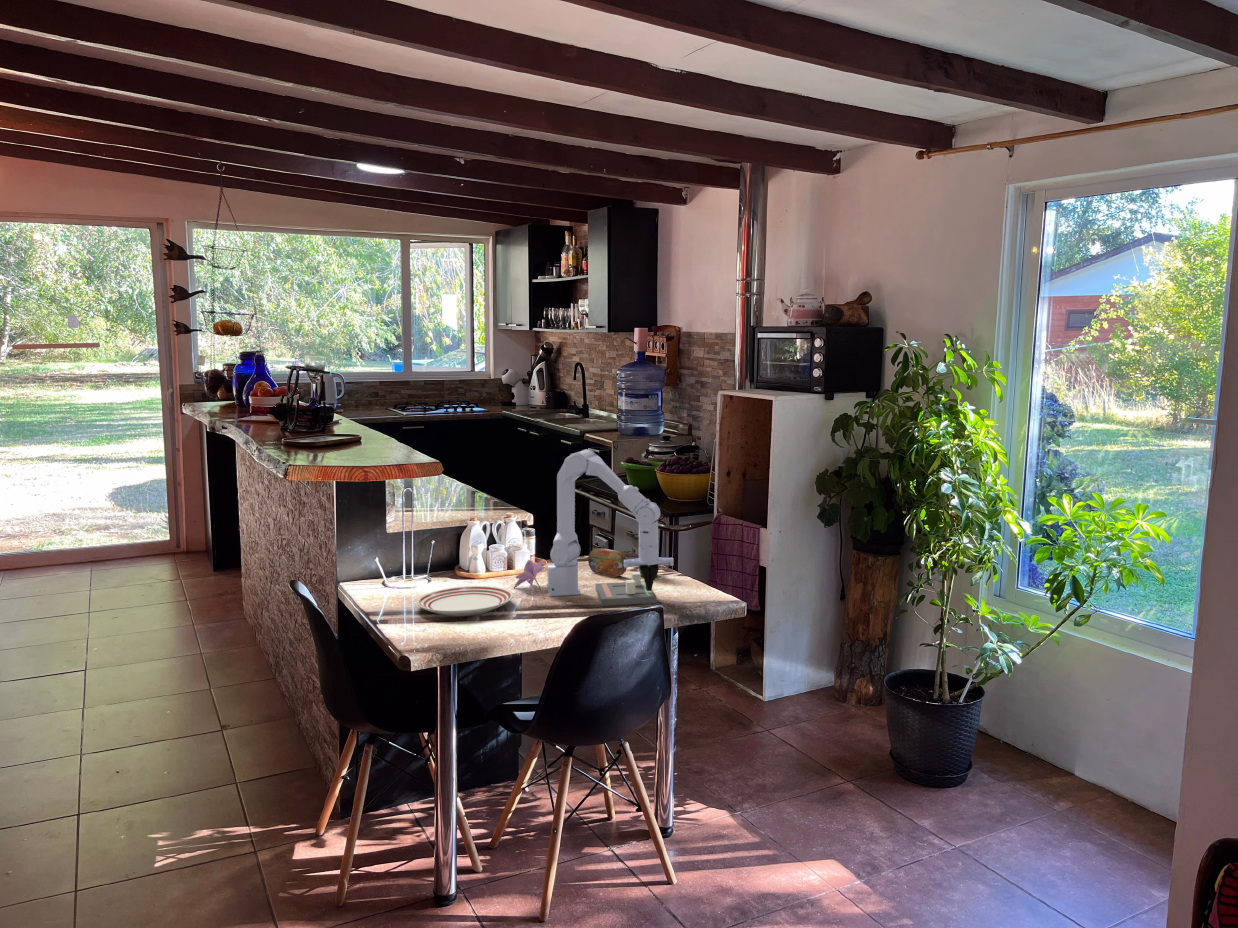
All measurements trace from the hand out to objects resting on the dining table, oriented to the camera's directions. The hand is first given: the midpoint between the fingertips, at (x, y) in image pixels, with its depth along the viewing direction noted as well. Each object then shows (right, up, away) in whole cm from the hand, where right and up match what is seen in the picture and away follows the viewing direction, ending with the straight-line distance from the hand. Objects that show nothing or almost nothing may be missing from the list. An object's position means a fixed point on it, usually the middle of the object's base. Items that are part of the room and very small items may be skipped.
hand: (648, 589), depth 272 cm
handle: (-4, +1, +9) cm, 9 cm away
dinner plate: (-53, -5, -4) cm, 54 cm away
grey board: (-7, -2, +4) cm, 8 cm away
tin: (-12, +1, +30) cm, 32 cm away
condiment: (+1, 0, +27) cm, 27 cm away
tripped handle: (-5, -1, -1) cm, 6 cm away
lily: (-36, -2, +15) cm, 39 cm away
